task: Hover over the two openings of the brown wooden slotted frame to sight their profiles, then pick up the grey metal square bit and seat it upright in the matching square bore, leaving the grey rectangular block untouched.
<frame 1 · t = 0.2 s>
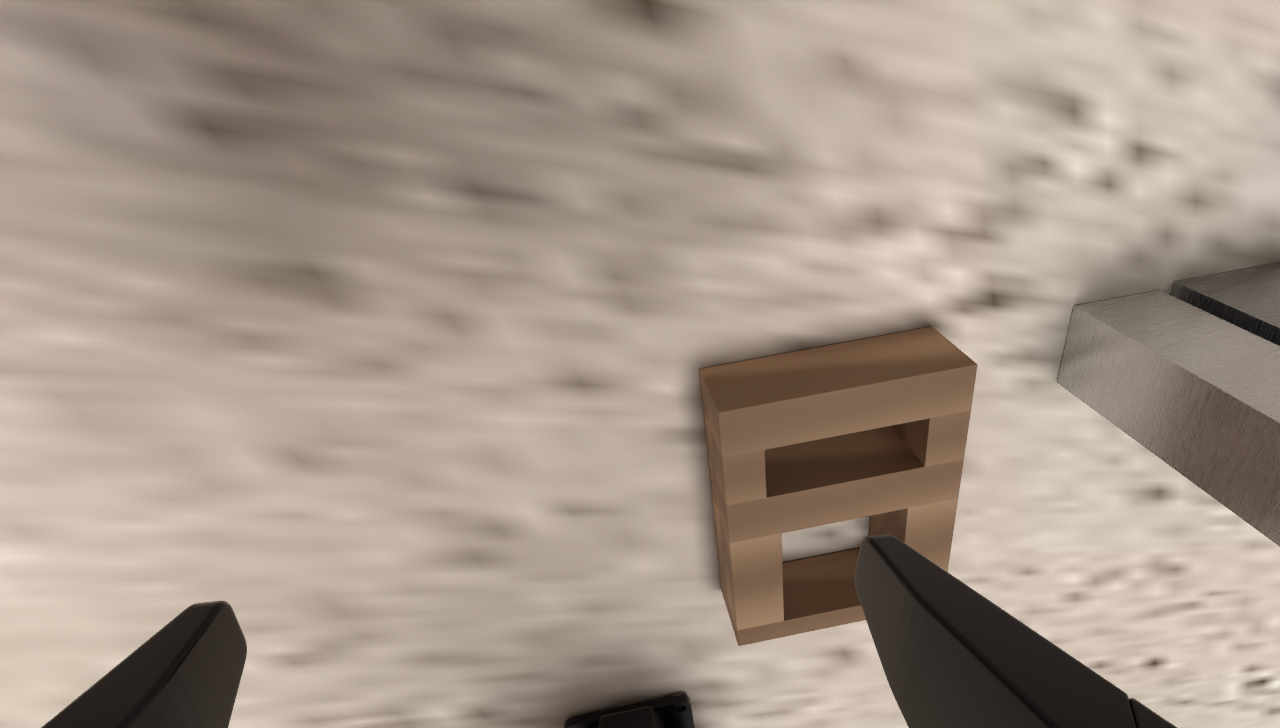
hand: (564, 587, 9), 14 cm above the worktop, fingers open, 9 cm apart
square bit: (1106, 337, 26), on the worktop
brown wooden slotted frame: (816, 471, 28), on the worktop
grey rectangular block: (1231, 293, 26), on the worktop
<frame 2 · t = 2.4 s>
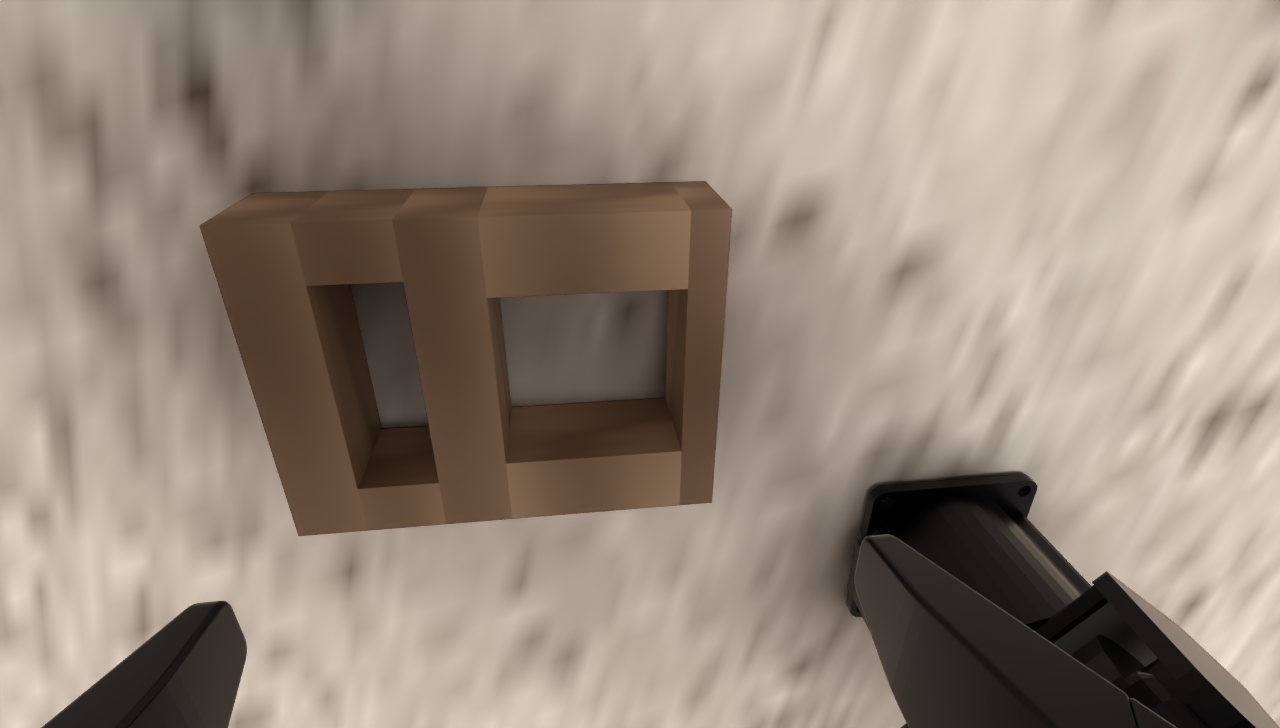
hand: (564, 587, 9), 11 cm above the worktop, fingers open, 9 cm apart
brown wooden slotted frame: (503, 337, 20), on the worktop
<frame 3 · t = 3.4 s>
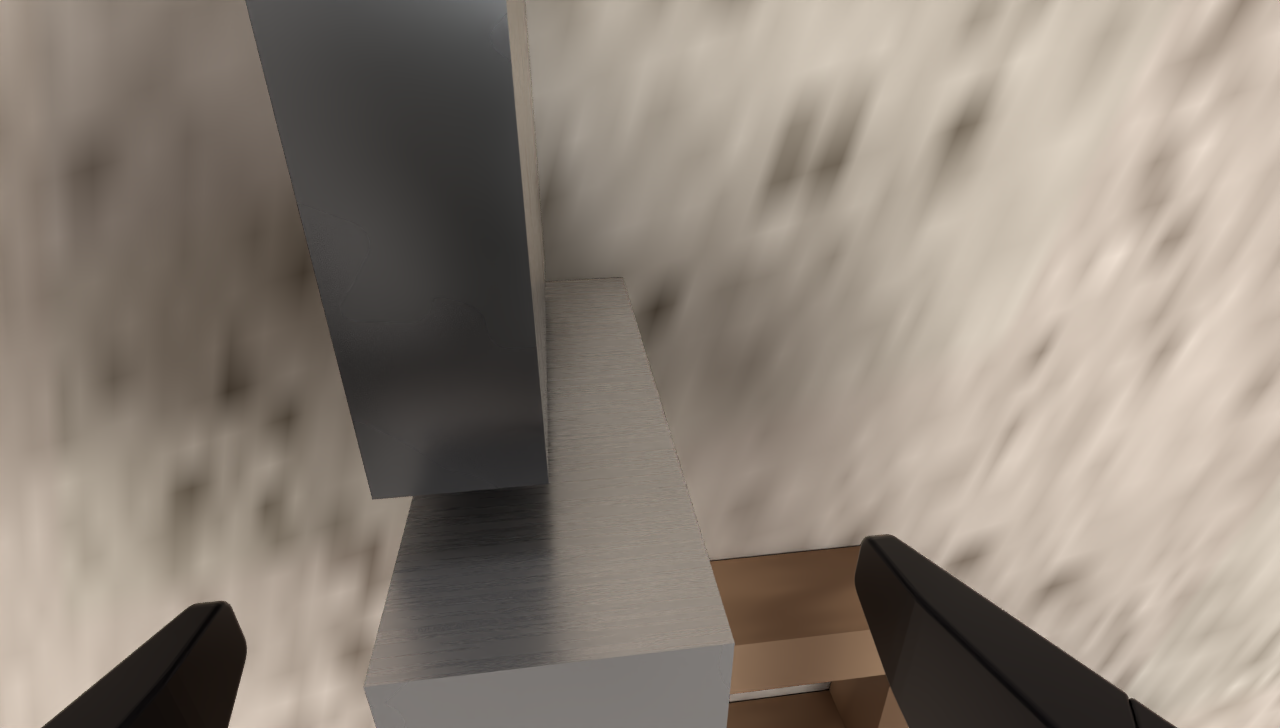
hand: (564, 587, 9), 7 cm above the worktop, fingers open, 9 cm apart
square bit: (551, 349, 16), on the worktop
brown wooden slotted frame: (696, 660, 22), on the worktop
grey rectangular block: (485, 133, 13), on the worktop
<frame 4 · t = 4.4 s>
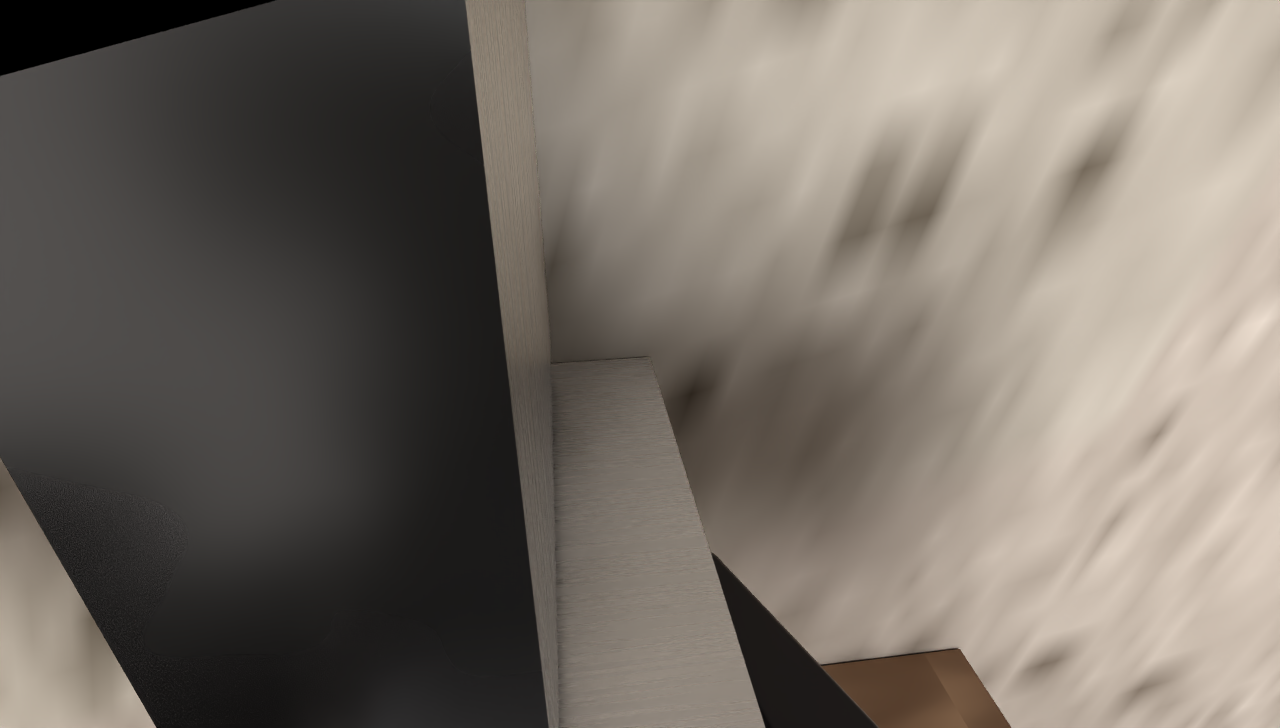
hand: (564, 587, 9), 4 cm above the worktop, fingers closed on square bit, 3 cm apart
square bit: (558, 443, 13), on the worktop, touching gripper
grey rectangular block: (472, 180, 10), on the worktop
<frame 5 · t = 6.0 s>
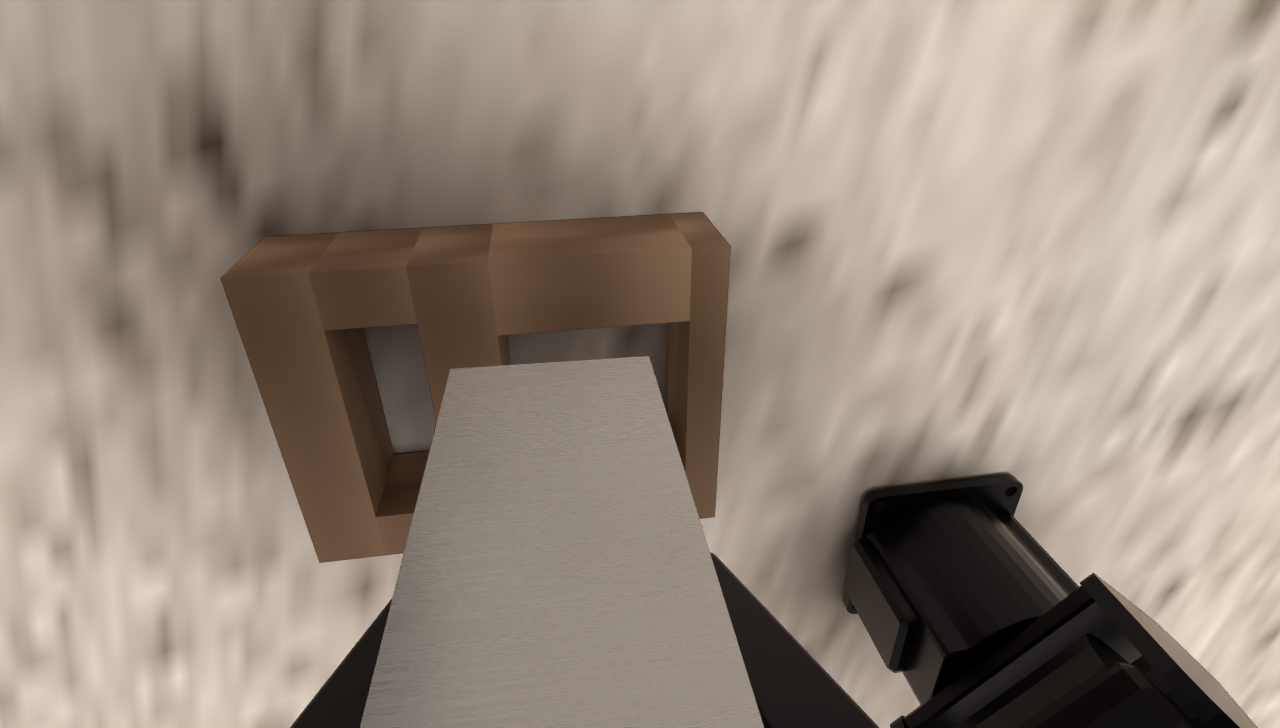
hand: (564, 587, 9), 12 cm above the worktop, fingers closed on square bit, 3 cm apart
square bit: (557, 443, 12), point 8 cm above the worktop, touching gripper
brown wooden slotted frame: (510, 364, 21), on the worktop
when the fingers open (4 cm above the worktop, at t = 7.9 s): square bit stays where it is, resting in brown wooden slotted frame.
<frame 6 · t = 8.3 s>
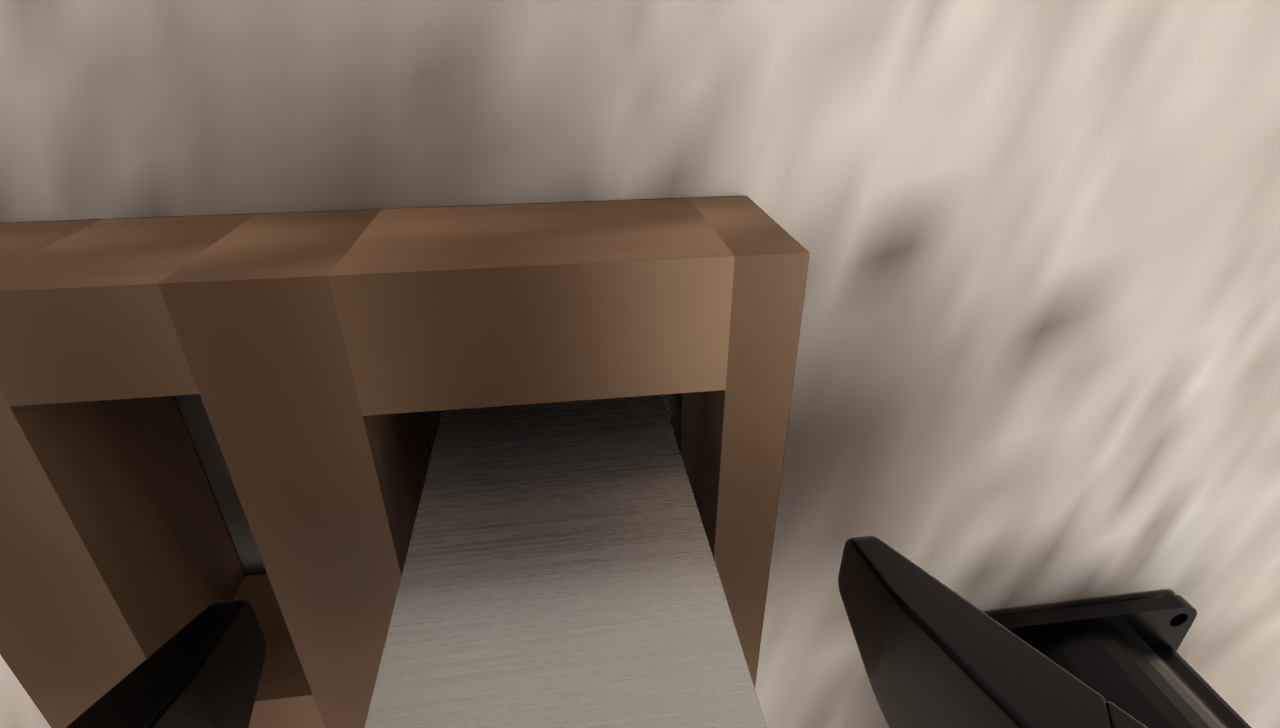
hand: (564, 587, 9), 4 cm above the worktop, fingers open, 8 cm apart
square bit: (558, 429, 13), resting in brown wooden slotted frame
brown wooden slotted frame: (425, 440, 13), on the worktop
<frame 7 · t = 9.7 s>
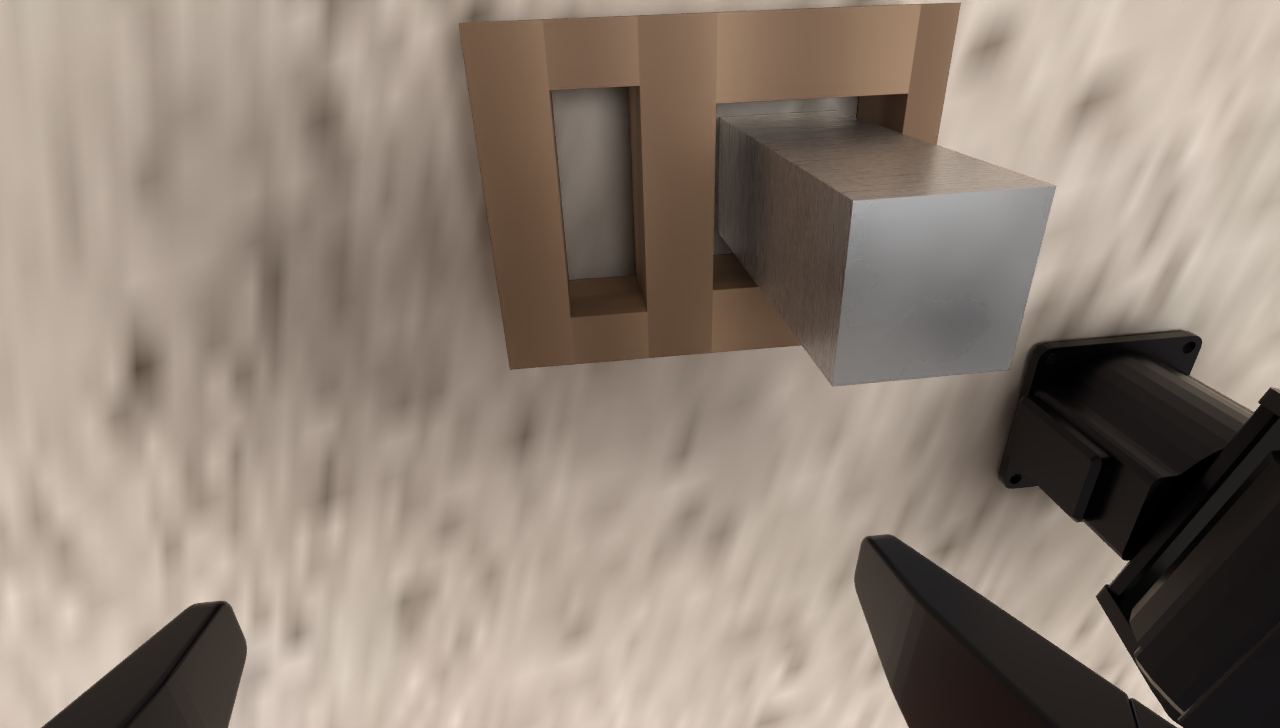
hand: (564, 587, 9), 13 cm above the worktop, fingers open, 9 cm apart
square bit: (774, 173, 20), resting in brown wooden slotted frame
brown wooden slotted frame: (693, 178, 20), on the worktop
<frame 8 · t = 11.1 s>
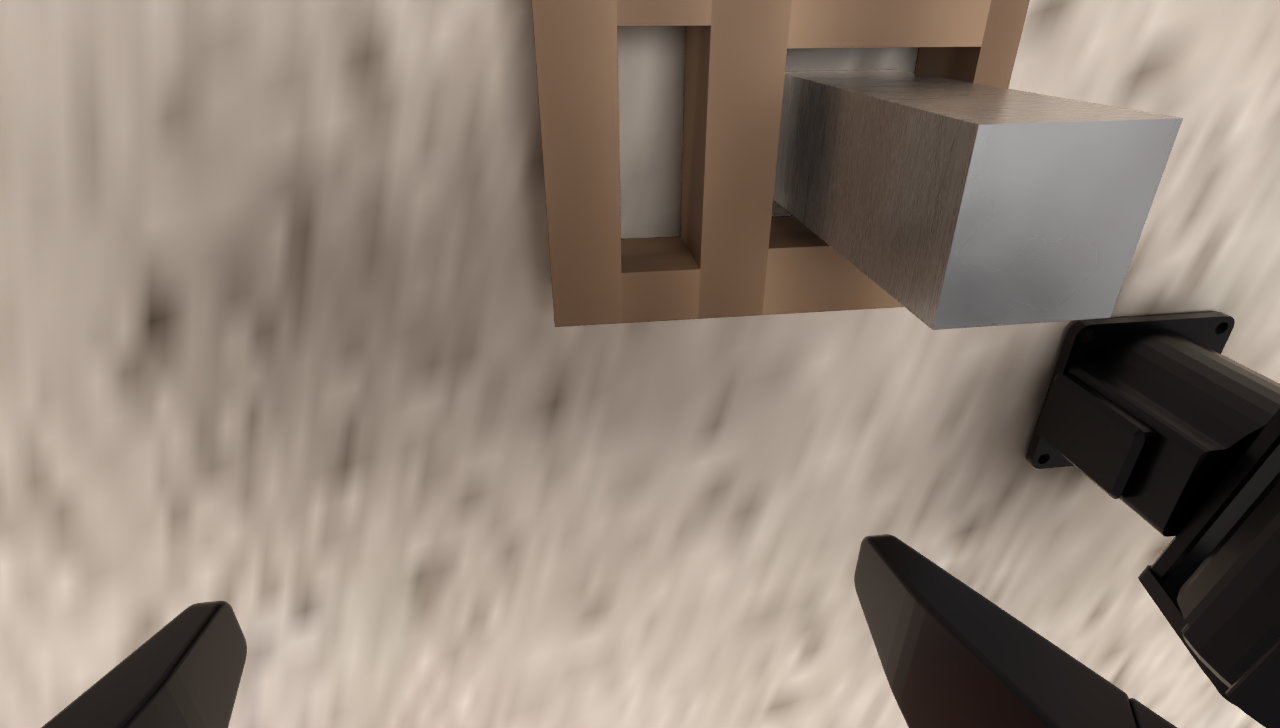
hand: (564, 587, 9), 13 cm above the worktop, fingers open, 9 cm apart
square bit: (827, 133, 20), resting in brown wooden slotted frame
brown wooden slotted frame: (745, 136, 20), on the worktop
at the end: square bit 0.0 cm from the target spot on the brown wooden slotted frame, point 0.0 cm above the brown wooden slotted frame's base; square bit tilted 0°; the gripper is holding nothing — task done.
